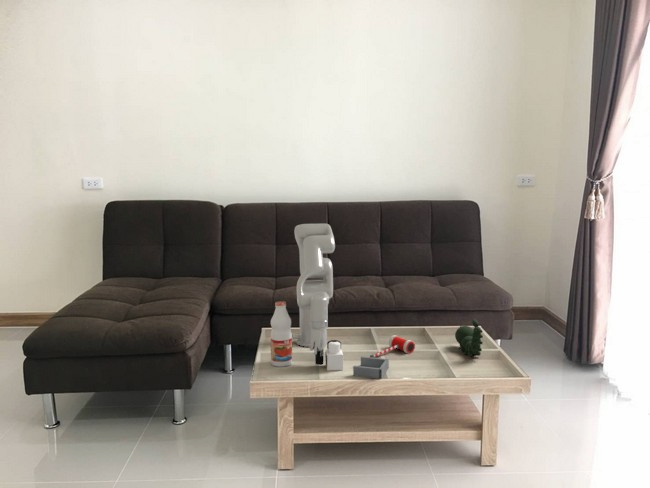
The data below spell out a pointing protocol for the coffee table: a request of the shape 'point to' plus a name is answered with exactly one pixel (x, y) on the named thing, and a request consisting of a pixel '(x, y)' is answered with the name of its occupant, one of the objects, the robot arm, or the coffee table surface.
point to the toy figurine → (469, 339)
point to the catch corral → (368, 371)
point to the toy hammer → (398, 345)
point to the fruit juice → (281, 336)
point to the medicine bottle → (334, 356)
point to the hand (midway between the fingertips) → (319, 364)
